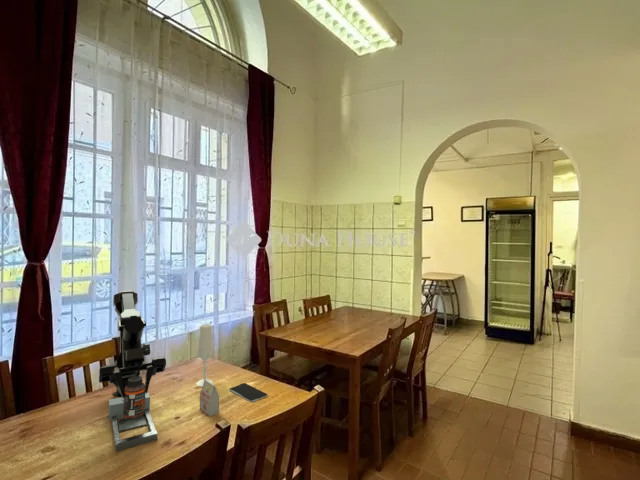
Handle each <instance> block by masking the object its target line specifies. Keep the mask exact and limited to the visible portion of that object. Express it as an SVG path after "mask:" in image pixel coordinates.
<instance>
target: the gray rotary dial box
mask: <svg viewBox="0 0 640 480" xmlns="http://www.w3.org/2000/svg"><path fill="white" fill-rule="evenodd" d="M123 408H124V398H122V397H115V398H111V399H110V398H109V399H108V420H109V422H112V416H116V419H117V420H120V419H124V418H125V417H124V416H123ZM147 408H148V409H149V412H151V411H150V410H151V409H150V408H151V396H150V394H149V392H147V393H146V392H145V409H147Z"/></svg>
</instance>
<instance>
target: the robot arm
mask: <svg viewBox="0 0 640 480" xmlns="http://www.w3.org/2000/svg"><path fill="white" fill-rule="evenodd" d="M138 298H139V297H138V293H137V292H135V290H133V289H132V290H131V289H130V290H121V291H119V292H118V293H115V294H114V295H113V299H112V301H113V303H112V305H113V307H115V308H114V309H115V312H116V313H117V315H118V317H119V319H118V320H117V331H119V354H118V356H117V358H116V360H115V364H109V365H108V364H107V365H103V366H101V367H99V369H98V370H99V371H98V372H99V373H98V383H107V382H109V384H113V385H114V386H115V388H116V391H115V392H112V396H116V397H117V398H120V397H122V398H124V388H125V387H126V386H127V385H128V379H129V378H131V377H134V376H141V371H146V373H145V380H144V381H145V382H144V384H145V392H146V393H147V392H148V391H149V387H150V383H151V380H152V378H153V377H154V376H155V375H157V373H162V372H164V371H165V369H166V366H167V360H166V358H165V357H164V356H161V357H155V358H154V357H153V358H151V362H148V363H147V362H146V363H144V362H145V356H150V355H151V344H143V345H142V337H143V333H144V329H145V327H147V322H146V321H145V320H144V317H142V315H141V312H140V311H138V310H137V309H136V305H137V304H138V303H139V302H138ZM148 393H149V392H148Z"/></svg>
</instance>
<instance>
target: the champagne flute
mask: <svg viewBox="0 0 640 480" xmlns="http://www.w3.org/2000/svg"><path fill="white" fill-rule="evenodd" d="M198 329H199V331H198V337H197V347H196V355H197V356H198V357H199V358H200V359H201V360H203V362H202V363H203V364H202V365H203V368H202V369H203V370H202V371H203V372H202V373H203V375H202V376H203V377H202V379H200V380H198V381H196V383H195V385H196V386H197V387H203V384H204V381H205V380H207V381H208V382H210V383H211V384H213V382H214V381H213V380H211V379H209V378H208V377H207V361H208V360H209V359H210V358H211V357H212V355H213V354H214V341H213V337H214V336H213V326H212V324H209V323H205V324H200V325H199V327H198Z"/></svg>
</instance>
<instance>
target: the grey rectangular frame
mask: <svg viewBox="0 0 640 480" xmlns="http://www.w3.org/2000/svg"><path fill="white" fill-rule="evenodd" d="M150 412H151V411H150ZM150 412H149V409H148V408H147V409H145V412H144V414H143V415H141V416H139V417H137V418H132V419H129V418H125V417H124V418H120V419H116V416H112V420H111V427H112V434H113V442H114V447H115V452H118V451H123V450H126V449H131V448H134V447H137V446H140V445H144V444H149V443H151V442H155V441H158V434H159V433H158V431H157V429H156V427H155V425H154V421H153V418H152V416H151V413H150ZM145 426H146V427H148V429H149V432H144V433H141V434H137V435H133V436H129V437H126V438H122V439H121V437H120V433H121V432H122V433H123V432H125V431H130V430H133V429H137V428H141V427H145Z"/></svg>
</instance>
